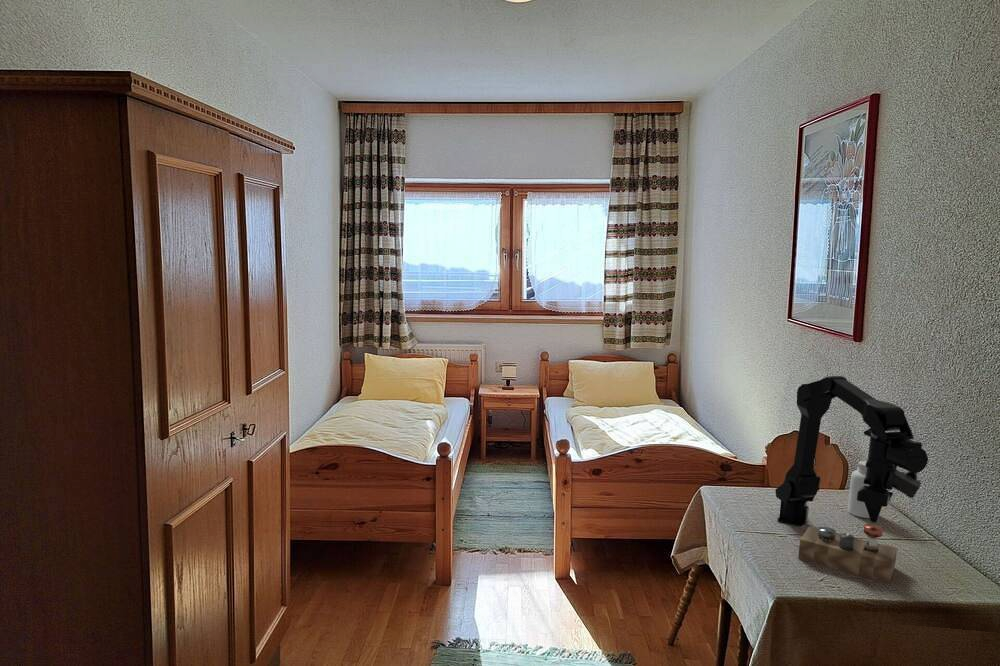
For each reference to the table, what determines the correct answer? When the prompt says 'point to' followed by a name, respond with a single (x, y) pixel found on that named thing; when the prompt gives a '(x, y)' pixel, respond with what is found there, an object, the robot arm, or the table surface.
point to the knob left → (826, 533)
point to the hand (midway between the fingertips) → (873, 521)
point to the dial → (846, 541)
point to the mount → (848, 556)
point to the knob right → (872, 536)
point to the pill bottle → (855, 484)
